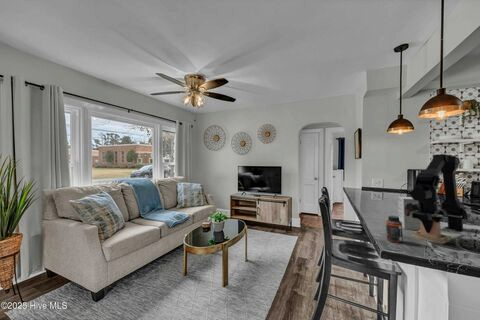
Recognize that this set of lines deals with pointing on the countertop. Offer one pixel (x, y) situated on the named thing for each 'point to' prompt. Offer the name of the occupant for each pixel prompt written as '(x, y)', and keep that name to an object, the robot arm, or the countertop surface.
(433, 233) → the part block
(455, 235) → the pad
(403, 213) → the supplement box
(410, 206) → the robot arm
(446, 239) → the wooden frame
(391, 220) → the supplement bottle
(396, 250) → the countertop surface
